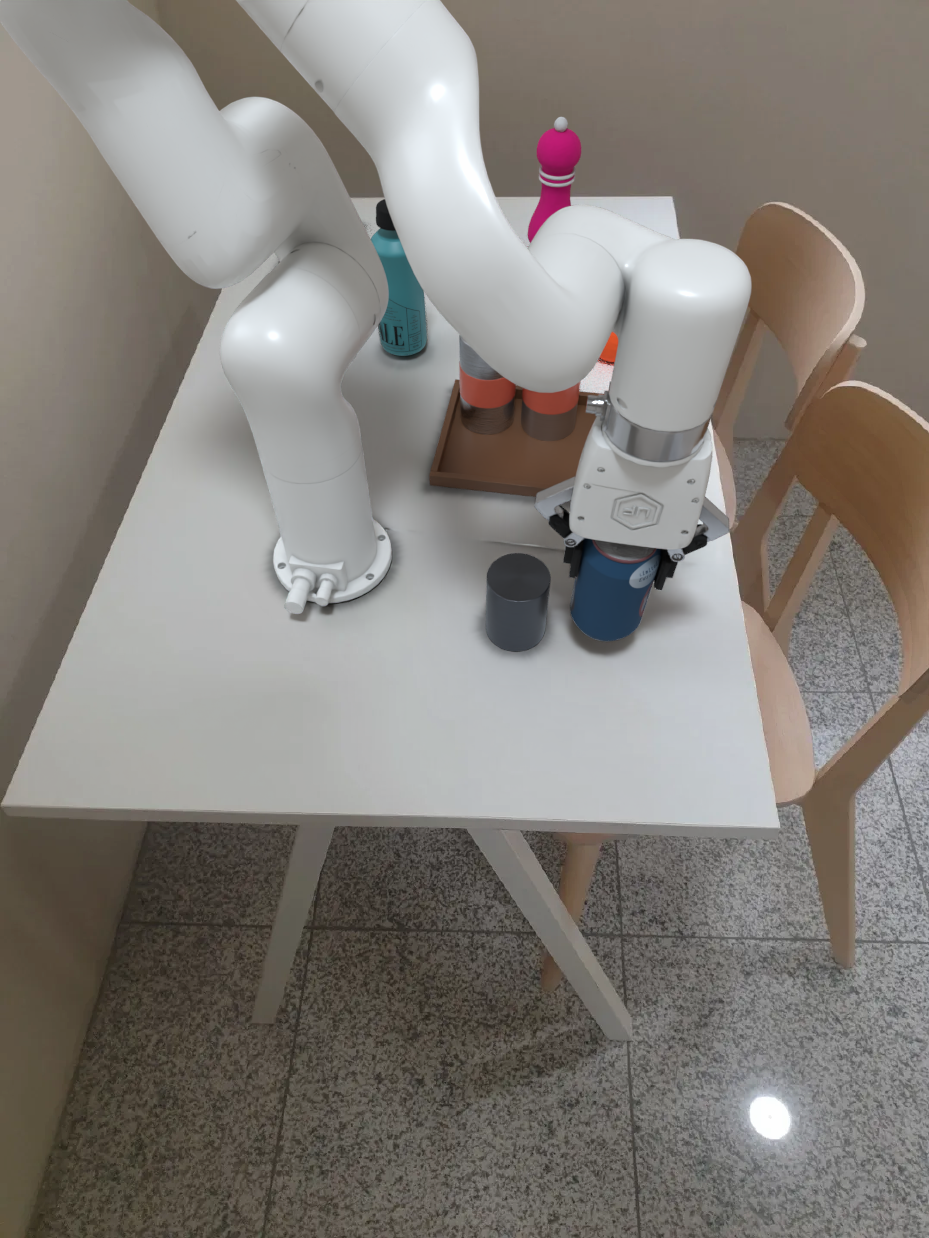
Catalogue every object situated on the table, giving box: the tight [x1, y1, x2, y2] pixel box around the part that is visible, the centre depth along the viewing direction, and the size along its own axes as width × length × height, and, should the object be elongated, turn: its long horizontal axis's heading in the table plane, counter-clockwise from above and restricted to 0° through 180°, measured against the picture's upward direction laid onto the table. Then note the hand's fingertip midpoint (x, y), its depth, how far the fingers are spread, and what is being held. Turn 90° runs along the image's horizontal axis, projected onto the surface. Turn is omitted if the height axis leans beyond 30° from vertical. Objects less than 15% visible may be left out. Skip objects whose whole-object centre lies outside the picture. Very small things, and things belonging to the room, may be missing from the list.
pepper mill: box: [527, 116, 582, 244], centre depth 117 cm, size 7×7×20 cm
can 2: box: [521, 380, 582, 441], centre depth 98 cm, size 7×7×12 cm
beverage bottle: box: [370, 198, 429, 357], centre depth 104 cm, size 6×7×20 cm
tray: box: [428, 378, 604, 498], centre depth 100 cm, size 18×22×2 cm
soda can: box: [569, 538, 662, 643], centre depth 77 cm, size 7×7×12 cm
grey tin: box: [485, 552, 552, 652], centre depth 81 cm, size 6×6×8 cm
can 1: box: [458, 334, 516, 435], centre depth 98 cm, size 7×7×12 cm
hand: (616, 571), depth 76 cm, fingers closed on soda can, 7 cm apart
